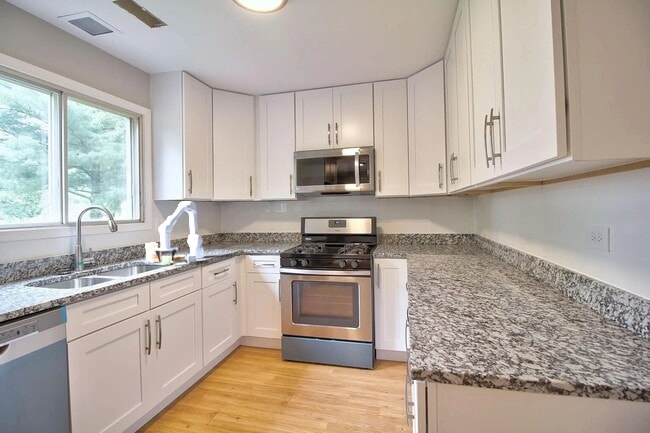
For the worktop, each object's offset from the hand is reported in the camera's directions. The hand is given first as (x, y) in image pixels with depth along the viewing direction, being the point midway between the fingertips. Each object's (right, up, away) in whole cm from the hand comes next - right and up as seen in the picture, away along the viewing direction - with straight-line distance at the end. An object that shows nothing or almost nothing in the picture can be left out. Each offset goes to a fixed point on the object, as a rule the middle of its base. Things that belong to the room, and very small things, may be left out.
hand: (166, 261), depth 203 cm
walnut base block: (+3, -2, +11) cm, 11 cm away
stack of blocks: (-18, -2, +16) cm, 24 cm away
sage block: (0, -2, 0) cm, 2 cm away
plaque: (+11, -2, -2) cm, 11 cm away
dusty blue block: (+14, -2, +8) cm, 16 cm away
